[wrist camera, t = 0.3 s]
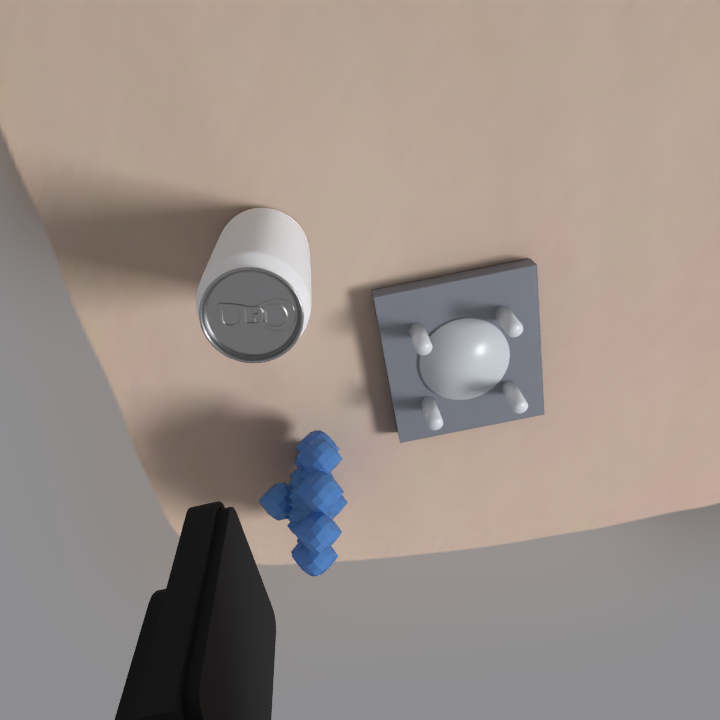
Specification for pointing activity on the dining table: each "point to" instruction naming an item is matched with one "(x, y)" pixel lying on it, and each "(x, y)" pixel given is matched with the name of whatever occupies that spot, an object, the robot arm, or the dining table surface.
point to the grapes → (310, 503)
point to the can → (256, 287)
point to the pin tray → (462, 349)
